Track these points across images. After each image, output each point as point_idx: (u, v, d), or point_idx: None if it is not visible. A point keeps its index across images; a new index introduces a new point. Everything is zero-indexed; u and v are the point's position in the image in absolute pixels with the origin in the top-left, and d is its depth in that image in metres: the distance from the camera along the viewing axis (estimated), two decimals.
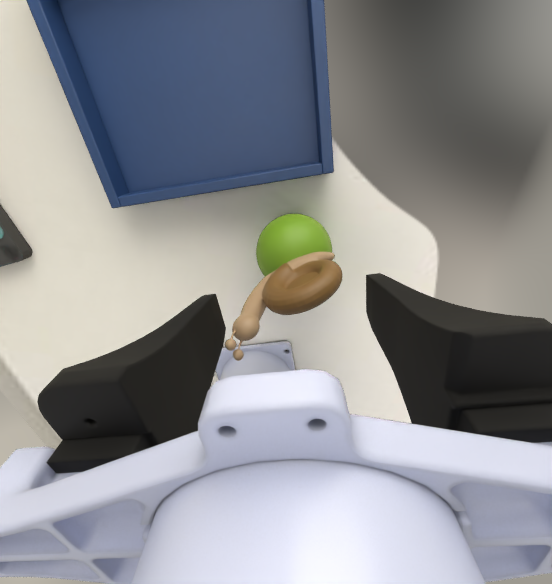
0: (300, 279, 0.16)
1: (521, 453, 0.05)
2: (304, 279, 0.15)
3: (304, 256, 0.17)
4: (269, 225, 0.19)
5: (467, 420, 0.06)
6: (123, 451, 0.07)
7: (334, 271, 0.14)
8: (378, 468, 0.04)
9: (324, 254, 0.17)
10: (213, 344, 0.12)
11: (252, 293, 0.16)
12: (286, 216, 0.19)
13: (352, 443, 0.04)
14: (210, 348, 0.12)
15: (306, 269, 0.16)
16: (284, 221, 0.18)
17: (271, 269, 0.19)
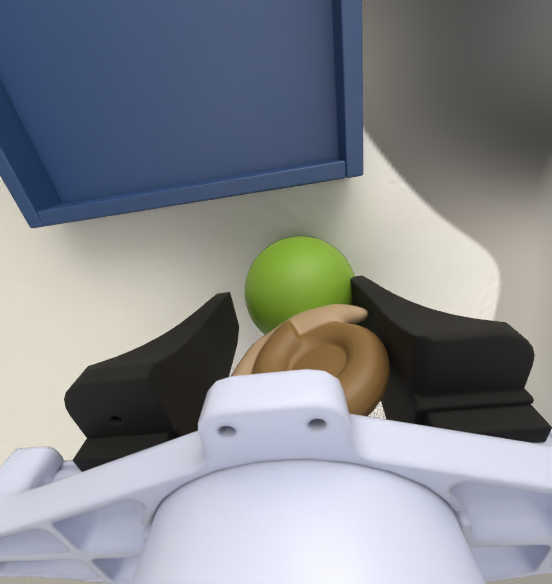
0: (314, 359, 0.09)
1: (521, 453, 0.05)
2: (321, 362, 0.09)
3: (318, 311, 0.11)
4: (263, 255, 0.13)
5: (431, 423, 0.06)
6: None
7: (378, 361, 0.08)
8: (378, 468, 0.04)
9: (352, 311, 0.10)
10: (228, 342, 0.12)
11: None
12: (289, 242, 0.13)
13: (352, 443, 0.04)
14: (226, 346, 0.12)
15: (323, 338, 0.10)
16: (286, 250, 0.12)
17: (267, 323, 0.12)
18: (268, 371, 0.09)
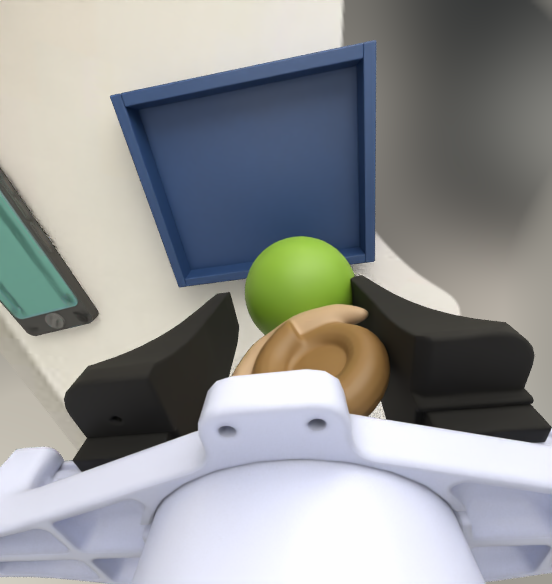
0: (314, 359, 0.09)
1: (521, 453, 0.05)
2: (321, 363, 0.09)
3: (318, 312, 0.11)
4: (263, 255, 0.13)
5: (431, 423, 0.06)
6: None
7: (378, 362, 0.08)
8: (378, 468, 0.04)
9: (352, 312, 0.10)
10: (228, 342, 0.12)
11: None
12: (289, 242, 0.13)
13: (352, 443, 0.04)
14: (226, 346, 0.12)
15: (323, 338, 0.10)
16: (286, 250, 0.12)
17: (267, 324, 0.12)
18: (268, 371, 0.09)
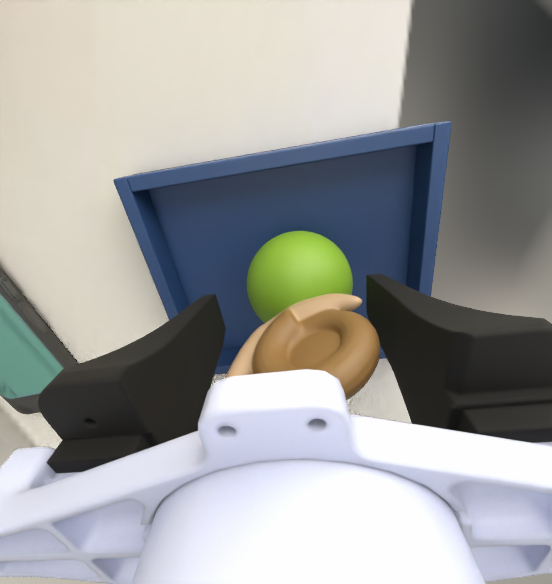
0: (310, 343, 0.10)
1: (521, 453, 0.05)
2: (317, 345, 0.10)
3: (315, 300, 0.11)
4: (264, 248, 0.13)
5: (467, 420, 0.06)
6: (123, 451, 0.07)
7: (369, 342, 0.08)
8: (378, 468, 0.04)
9: (346, 299, 0.11)
10: (213, 344, 0.12)
11: (236, 361, 0.11)
12: (288, 236, 0.13)
13: (352, 443, 0.04)
14: (210, 348, 0.12)
15: (319, 324, 0.11)
16: (285, 243, 0.13)
17: (267, 313, 0.13)
18: (268, 353, 0.10)
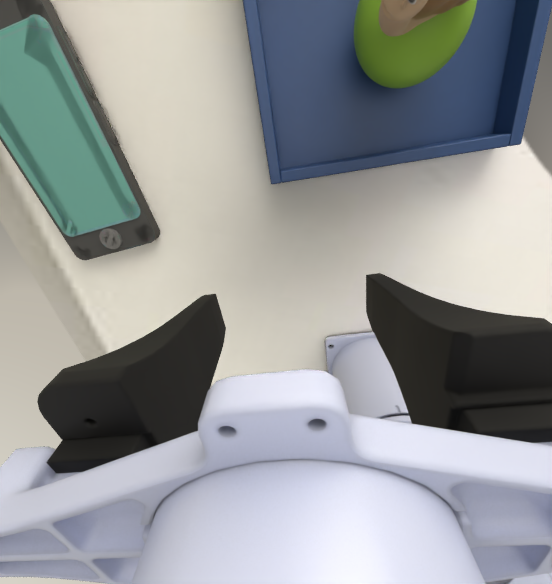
0: None
1: (521, 453, 0.05)
2: None
3: None
4: None
5: (467, 420, 0.06)
6: (123, 451, 0.07)
7: None
8: (378, 468, 0.04)
9: None
10: (213, 344, 0.12)
11: None
12: None
13: (352, 443, 0.04)
14: (210, 348, 0.12)
15: None
16: None
17: None
18: None
